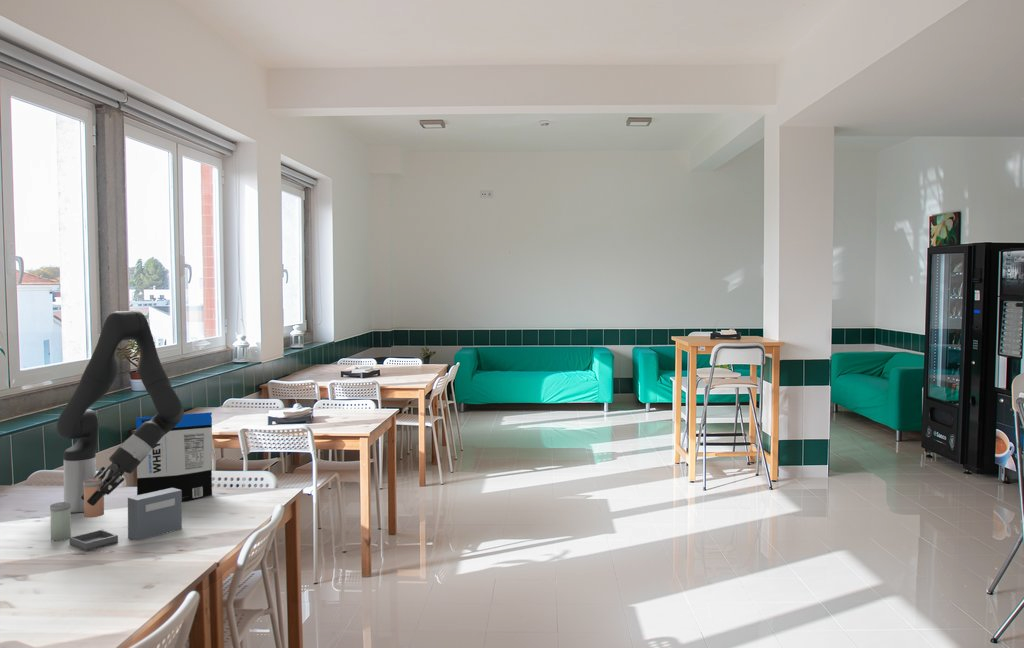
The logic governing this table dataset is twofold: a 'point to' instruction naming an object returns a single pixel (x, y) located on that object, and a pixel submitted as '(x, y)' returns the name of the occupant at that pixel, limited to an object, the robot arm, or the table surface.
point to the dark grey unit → (154, 513)
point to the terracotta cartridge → (89, 490)
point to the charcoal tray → (93, 540)
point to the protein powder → (180, 459)
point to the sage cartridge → (60, 521)
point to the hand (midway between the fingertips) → (86, 501)
